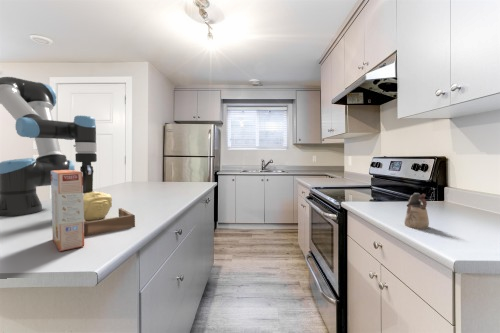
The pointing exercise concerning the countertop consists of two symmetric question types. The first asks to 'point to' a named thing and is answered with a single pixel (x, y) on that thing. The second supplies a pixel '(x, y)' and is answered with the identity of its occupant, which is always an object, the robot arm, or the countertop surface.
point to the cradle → (110, 223)
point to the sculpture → (96, 205)
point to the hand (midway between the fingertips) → (87, 207)
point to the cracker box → (67, 209)
